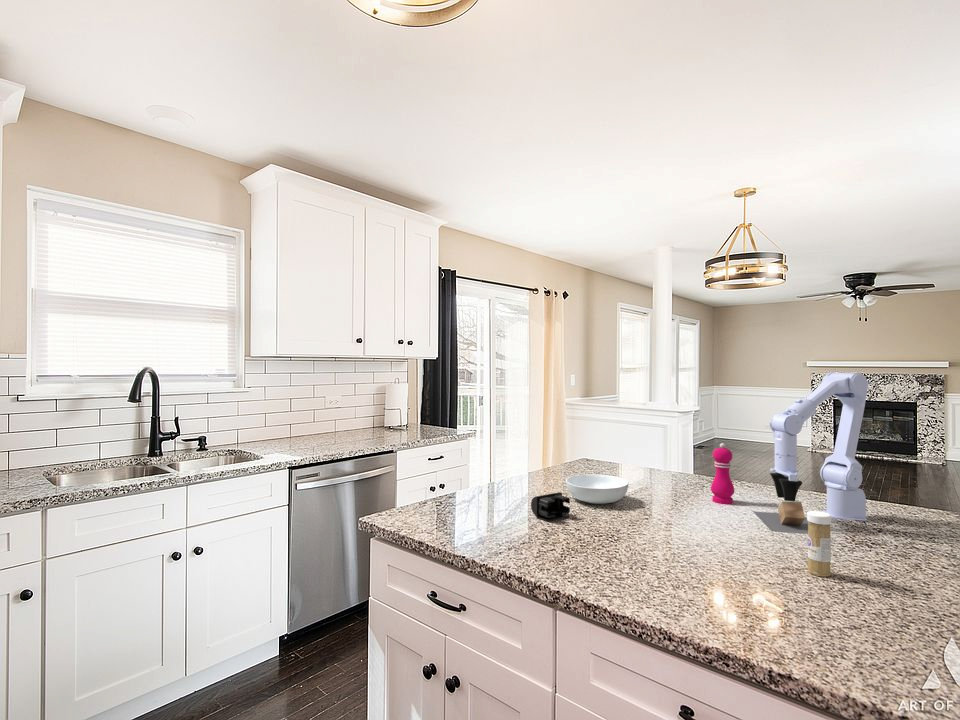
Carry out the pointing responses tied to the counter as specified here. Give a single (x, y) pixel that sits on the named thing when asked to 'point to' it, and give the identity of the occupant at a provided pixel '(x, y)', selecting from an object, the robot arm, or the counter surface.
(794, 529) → the mat
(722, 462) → the pepper mill
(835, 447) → the robot arm
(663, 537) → the counter surface
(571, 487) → the serving bowl
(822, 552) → the sprinkles bottle
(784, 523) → the cube
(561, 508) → the end cap
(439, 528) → the counter surface
